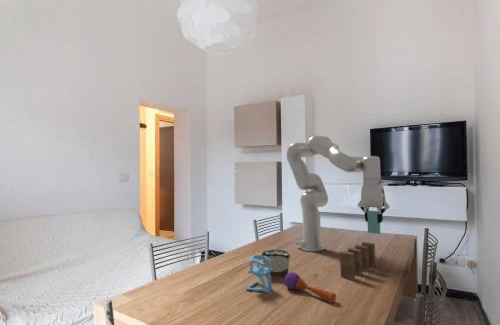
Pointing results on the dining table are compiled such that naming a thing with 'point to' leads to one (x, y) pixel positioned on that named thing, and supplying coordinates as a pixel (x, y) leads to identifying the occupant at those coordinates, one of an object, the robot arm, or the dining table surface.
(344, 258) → the domino
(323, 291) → the purple and orange maraca
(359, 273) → the domino
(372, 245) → the domino
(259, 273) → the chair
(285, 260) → the food container
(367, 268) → the domino
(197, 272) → the dining table surface
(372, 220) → the teal domino
